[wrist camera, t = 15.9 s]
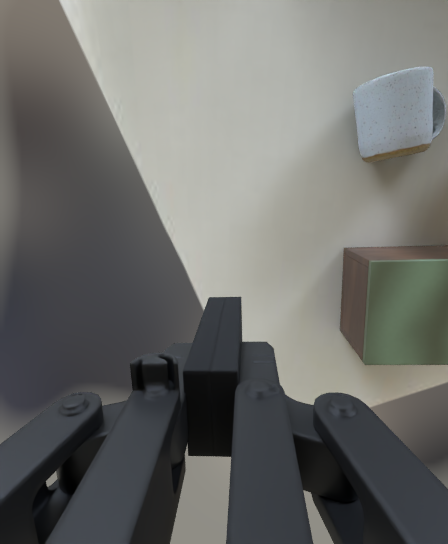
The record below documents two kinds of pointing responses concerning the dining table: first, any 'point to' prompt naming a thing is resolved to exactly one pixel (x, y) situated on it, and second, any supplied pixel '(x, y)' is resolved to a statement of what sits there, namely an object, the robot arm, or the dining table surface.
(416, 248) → the chest
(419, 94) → the ceramic mug
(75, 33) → the dining table surface
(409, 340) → the lid
